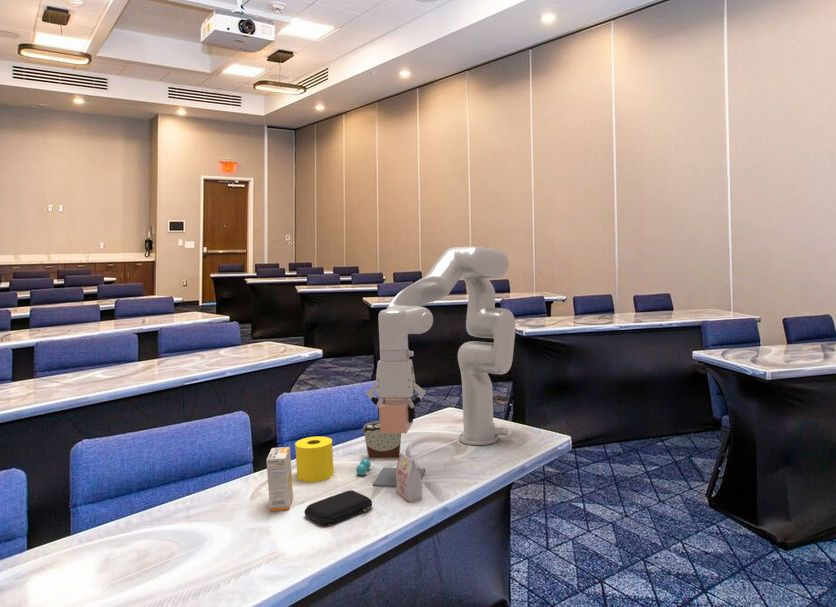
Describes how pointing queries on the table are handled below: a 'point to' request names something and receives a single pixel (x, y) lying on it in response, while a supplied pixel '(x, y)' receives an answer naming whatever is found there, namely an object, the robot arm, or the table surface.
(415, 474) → the tea bag
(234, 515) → the table surface
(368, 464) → the teal marble
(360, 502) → the carrying case or bag
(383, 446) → the food container
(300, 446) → the yellow toilet paper roll
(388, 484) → the slate coaster
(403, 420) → the terracotta block
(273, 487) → the supplement box
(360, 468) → the teal marble
